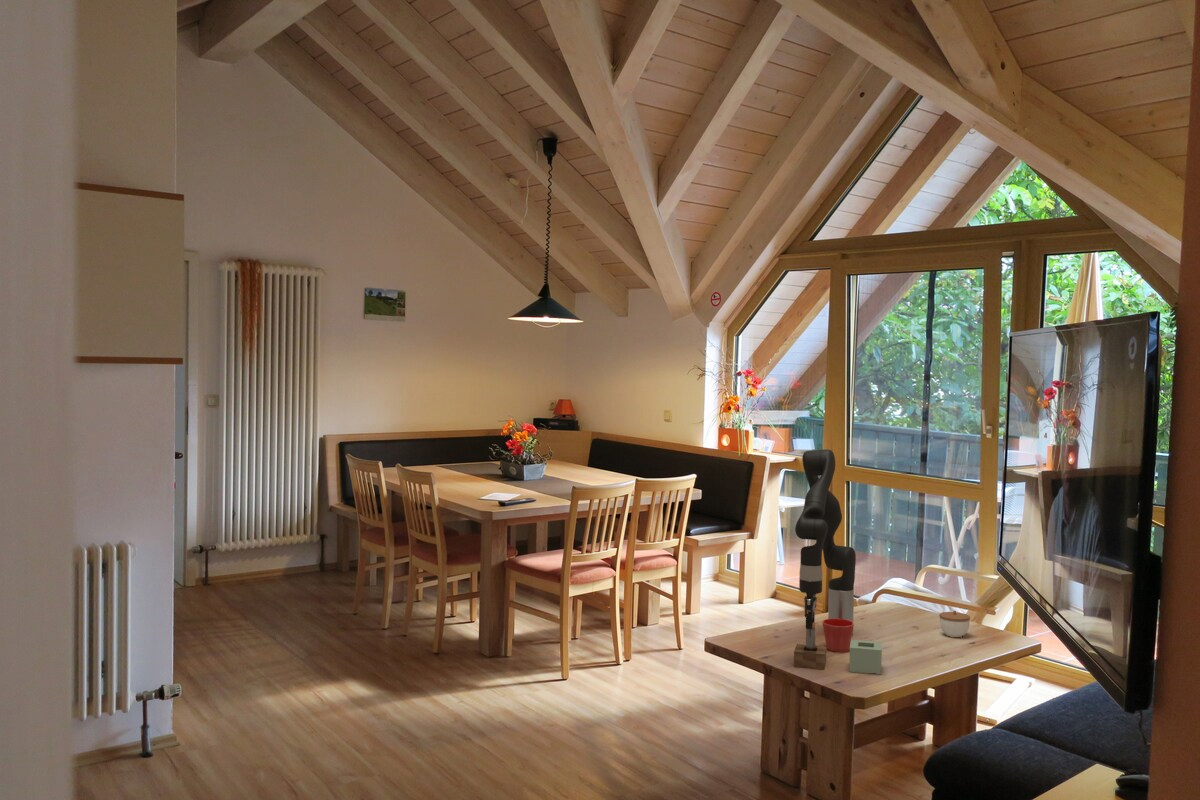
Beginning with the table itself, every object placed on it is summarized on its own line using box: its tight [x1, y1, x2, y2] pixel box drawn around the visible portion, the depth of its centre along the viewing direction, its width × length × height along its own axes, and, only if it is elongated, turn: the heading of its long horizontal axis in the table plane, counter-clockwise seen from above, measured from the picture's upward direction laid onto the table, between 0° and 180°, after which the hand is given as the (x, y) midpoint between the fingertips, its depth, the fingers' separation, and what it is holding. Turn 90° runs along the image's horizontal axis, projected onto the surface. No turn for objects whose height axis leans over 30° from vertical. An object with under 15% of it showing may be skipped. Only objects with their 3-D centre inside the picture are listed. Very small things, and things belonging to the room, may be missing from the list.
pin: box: [805, 622, 816, 651], centre depth 319 cm, size 3×3×14 cm
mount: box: [793, 643, 828, 670], centre depth 319 cm, size 10×10×5 cm
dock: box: [849, 639, 883, 675], centre depth 314 cm, size 10×10×8 cm
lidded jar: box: [939, 610, 971, 638], centre depth 356 cm, size 11×11×9 cm
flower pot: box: [822, 618, 854, 653], centre depth 337 cm, size 11×11×10 cm
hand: (810, 625), depth 319 cm, fingers open, 8 cm apart
